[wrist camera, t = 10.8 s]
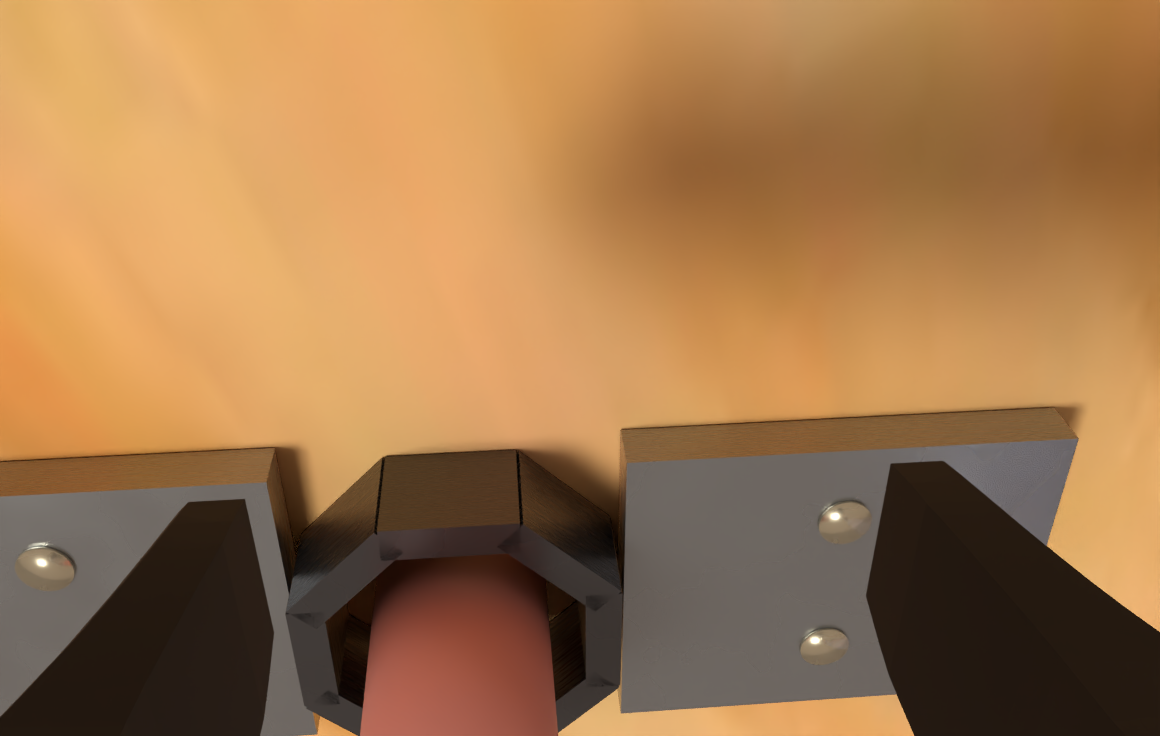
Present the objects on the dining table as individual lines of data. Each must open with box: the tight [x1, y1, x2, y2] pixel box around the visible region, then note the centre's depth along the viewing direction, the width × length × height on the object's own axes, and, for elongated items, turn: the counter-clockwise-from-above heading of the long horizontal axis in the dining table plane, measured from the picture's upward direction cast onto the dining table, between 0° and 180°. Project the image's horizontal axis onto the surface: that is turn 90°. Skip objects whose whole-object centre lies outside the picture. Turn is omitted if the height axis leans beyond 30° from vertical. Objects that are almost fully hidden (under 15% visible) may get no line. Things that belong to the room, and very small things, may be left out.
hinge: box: [0, 408, 1078, 736], centre depth 25 cm, size 8×28×2 cm, turn 90°
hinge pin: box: [360, 554, 558, 736], centre depth 23 cm, size 4×4×8 cm
